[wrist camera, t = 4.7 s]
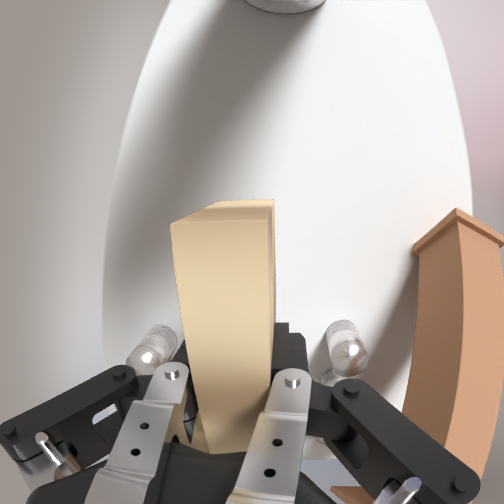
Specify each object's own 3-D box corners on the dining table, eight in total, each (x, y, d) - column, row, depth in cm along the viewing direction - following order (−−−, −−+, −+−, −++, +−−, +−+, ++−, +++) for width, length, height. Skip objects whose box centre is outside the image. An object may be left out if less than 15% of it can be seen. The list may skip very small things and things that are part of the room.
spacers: (146, 315, 28) (119, 343, 22) (358, 319, 26) (374, 353, 20) (168, 406, 32) (153, 438, 26) (340, 414, 29) (347, 450, 23)
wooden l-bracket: (104, 208, 14) (22, 233, 8) (277, 199, 13) (273, 221, 7) (150, 407, 17) (118, 467, 12) (276, 420, 16) (271, 495, 11)
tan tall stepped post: (347, 296, 38) (303, 469, 28) (455, 207, 18) (401, 550, 7) (388, 308, 38) (350, 473, 27) (504, 236, 18) (468, 527, 7)
